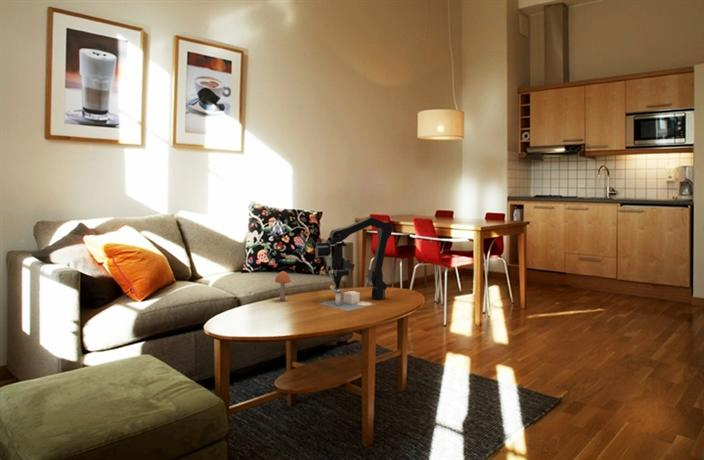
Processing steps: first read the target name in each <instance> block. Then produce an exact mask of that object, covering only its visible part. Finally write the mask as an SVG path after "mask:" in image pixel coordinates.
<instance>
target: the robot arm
mask: <svg viewBox="0 0 704 460" xmlns="http://www.w3.org/2000/svg"><path fill="white" fill-rule="evenodd" d="M368 227H373V228H375V229H376V230H377V232H376V233H377V244H376V249H375V254H374V259H373V263H372V265H373V266H372V267H371V269H367V275H366V278H367V282H368V284H370V287H371V300H374V301H376V300H384V299H385V298H386V290H387V288H388V285H387V284H386V282H385V281H383V280H384V273H383V265H384V259H385V254H386V250H387V249H386V248H387V245H388V244H387V243H388V240H389V239H390V237H391V236H392V232H393V230H394V226H393V224H392V223H391V222H389V221H383V220H380V219H377V218H375V217H373V216H367V217H366V218H364V219H362V220H359V221H357V222H355V223H352V224H349V225H347V226H345V227H340V228H335V229H332V230H331V231H330V232H329V236H328V238H327V239H326V241H325V242H316V244H315V249H314V254H315V257H316V258H319V257H320V258H322V257H329V256H330V257H329V260H330V264H328V265H326V266H325V271H326V272H330V271H331V272H330V273H329V275H330V277H331V279H332V281H333V284H334V285H335V286H336V287H338V288H339V289H340V284H341V280H342V278H343V277H344V276H347V277H348V276H350V271H349V270H351V271H354V269H355V265H356V264H355V263H353V262H351V260H349V259H346V258H345V257H344V247H347V246H348V245H347V243H346V242H345V240H346V239H347V238H348V237H349V236H351V235H352V234H355V233H357V232H359V231H362V230H363V229H366V228H368Z"/></svg>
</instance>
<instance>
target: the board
mask: <svg viewBox="0 0 704 460" xmlns="http://www.w3.org/2000/svg"><path fill="white" fill-rule="evenodd" d="M334 293H335V292H334ZM341 295H342V292H341V293H335V295H334V296H335V298H334V299H335V300H330V301H324V302H319V303H318V305H322V306H326V307H330V308H335V309H339V310H343V311H346V312H347V311H349V312H350V311H353V310H357V309H361V308H366V307H369V306H370V307H371V306H375V305H376V303H373V302H369V301H364V300H360V302H358V303H354V304H349V303H345V302H344V297H343V298H342V296H341Z"/></svg>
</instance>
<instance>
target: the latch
mask: <svg viewBox="0 0 704 460" xmlns="http://www.w3.org/2000/svg"><path fill="white" fill-rule="evenodd" d="M329 288H330V290H332V291H333V293H341V294H342V292H343V289H342V288H340V287H339V288H338V287H336V286H335V284H334V285H333V284H332V285H329Z"/></svg>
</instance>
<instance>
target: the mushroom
mask: <svg viewBox="0 0 704 460" xmlns="http://www.w3.org/2000/svg"><path fill="white" fill-rule="evenodd" d="M274 282H275V283H277V284H280V292H279V301H281V302H284V301H286V291H285V289H286V284H289V283H291V282H292V280H291V277H290V275H289V274H288V273H287V272H286V271H284V270H282V271H280V272H279V273H278V274H277V276H276V277H275V279H274Z"/></svg>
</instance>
